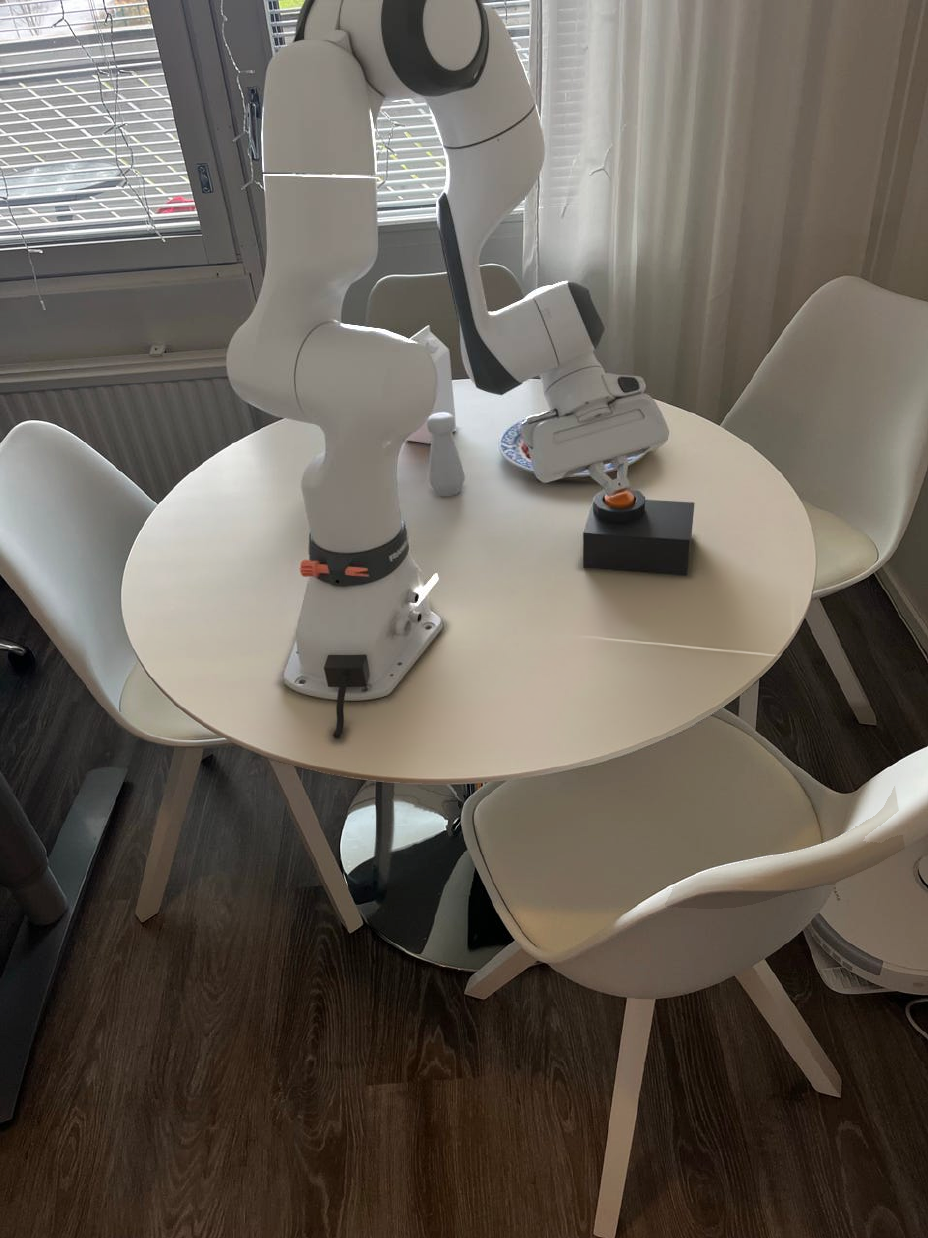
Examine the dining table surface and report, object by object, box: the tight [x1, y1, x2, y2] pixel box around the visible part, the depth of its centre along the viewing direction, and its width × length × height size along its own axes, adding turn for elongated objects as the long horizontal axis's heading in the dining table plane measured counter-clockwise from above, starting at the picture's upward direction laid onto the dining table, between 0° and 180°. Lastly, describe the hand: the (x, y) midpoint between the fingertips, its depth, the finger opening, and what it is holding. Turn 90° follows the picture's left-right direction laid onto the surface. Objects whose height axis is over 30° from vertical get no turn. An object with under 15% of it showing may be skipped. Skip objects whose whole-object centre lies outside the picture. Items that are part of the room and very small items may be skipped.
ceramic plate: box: [498, 417, 648, 478], centre depth 148 cm, size 26×26×3 cm
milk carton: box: [405, 325, 457, 445], centre depth 154 cm, size 7×7×19 cm
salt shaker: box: [427, 412, 466, 498], centre depth 138 cm, size 6×6×13 cm
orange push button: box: [605, 491, 634, 508], centre depth 120 cm, size 4×4×2 cm
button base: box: [582, 487, 695, 577], centre depth 120 cm, size 14×10×8 cm
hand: (619, 492), depth 120 cm, fingers closed, pressing on orange push button
